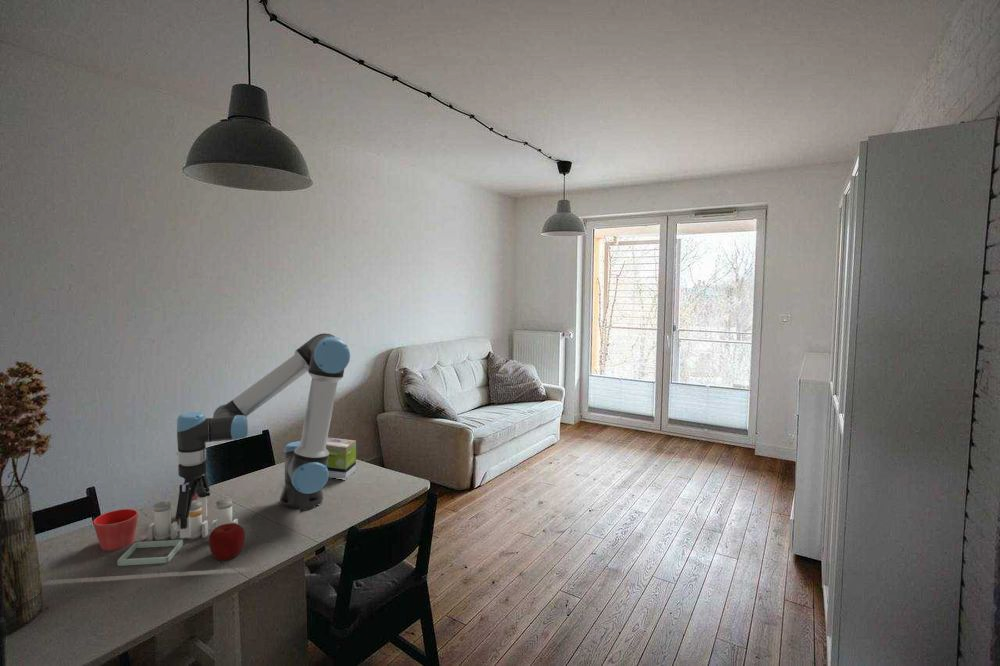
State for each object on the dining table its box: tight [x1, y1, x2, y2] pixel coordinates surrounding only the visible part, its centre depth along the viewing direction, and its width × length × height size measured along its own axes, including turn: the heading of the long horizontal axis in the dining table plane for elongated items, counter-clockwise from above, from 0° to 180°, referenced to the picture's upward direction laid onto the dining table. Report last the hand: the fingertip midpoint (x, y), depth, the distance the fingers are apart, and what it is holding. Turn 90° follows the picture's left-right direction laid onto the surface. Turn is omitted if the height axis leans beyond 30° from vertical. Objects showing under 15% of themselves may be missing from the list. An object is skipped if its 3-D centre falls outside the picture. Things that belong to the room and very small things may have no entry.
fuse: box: [152, 500, 172, 541], centre depth 161 cm, size 4×4×11 cm
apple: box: [208, 523, 246, 561], centre depth 153 cm, size 10×10×10 cm
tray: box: [116, 540, 184, 567], centre depth 152 cm, size 13×10×2 cm
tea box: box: [326, 436, 357, 479], centre depth 218 cm, size 15×10×15 cm, turn 80°
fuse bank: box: [144, 518, 239, 544], centre depth 163 cm, size 27×8×6 cm, turn 101°
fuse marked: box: [187, 500, 203, 540], centre depth 163 cm, size 5×5×11 cm
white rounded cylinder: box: [215, 498, 234, 527], centre depth 164 cm, size 4×4×11 cm
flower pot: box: [92, 508, 139, 551], centre depth 157 cm, size 11×11×10 cm
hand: (194, 526), depth 163 cm, fingers open, 13 cm apart
